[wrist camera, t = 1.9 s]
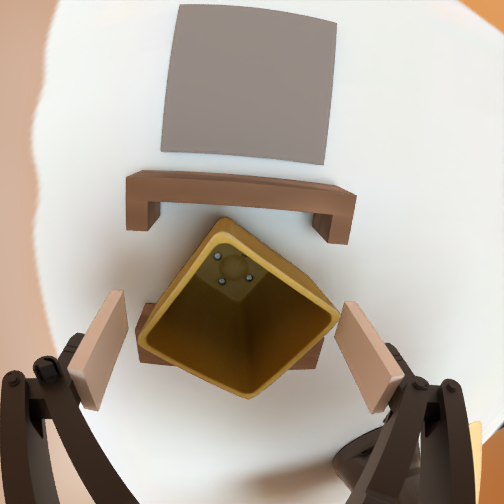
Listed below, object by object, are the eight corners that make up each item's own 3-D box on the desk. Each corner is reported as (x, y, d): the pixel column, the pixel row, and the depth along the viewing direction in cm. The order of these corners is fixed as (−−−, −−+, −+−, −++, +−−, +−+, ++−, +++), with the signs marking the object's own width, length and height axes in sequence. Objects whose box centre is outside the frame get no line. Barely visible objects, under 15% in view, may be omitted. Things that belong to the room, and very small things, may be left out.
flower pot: (242, 328, 27) (250, 403, 18) (160, 277, 24) (133, 344, 16) (307, 256, 25) (345, 316, 16) (222, 192, 22) (220, 226, 14)
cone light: (457, 425, 42) (519, 538, 10) (491, 417, 46) (547, 505, 13) (392, 483, 50) (429, 582, 18) (434, 472, 54) (472, 554, 21)
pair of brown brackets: (305, 341, 28) (315, 368, 24) (148, 334, 26) (139, 362, 22) (336, 185, 22) (356, 195, 19) (142, 170, 21) (126, 177, 17)
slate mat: (321, 164, 22) (323, 165, 21) (162, 150, 20) (160, 151, 20) (334, 25, 17) (336, 23, 17) (180, 7, 16) (179, 4, 16)
